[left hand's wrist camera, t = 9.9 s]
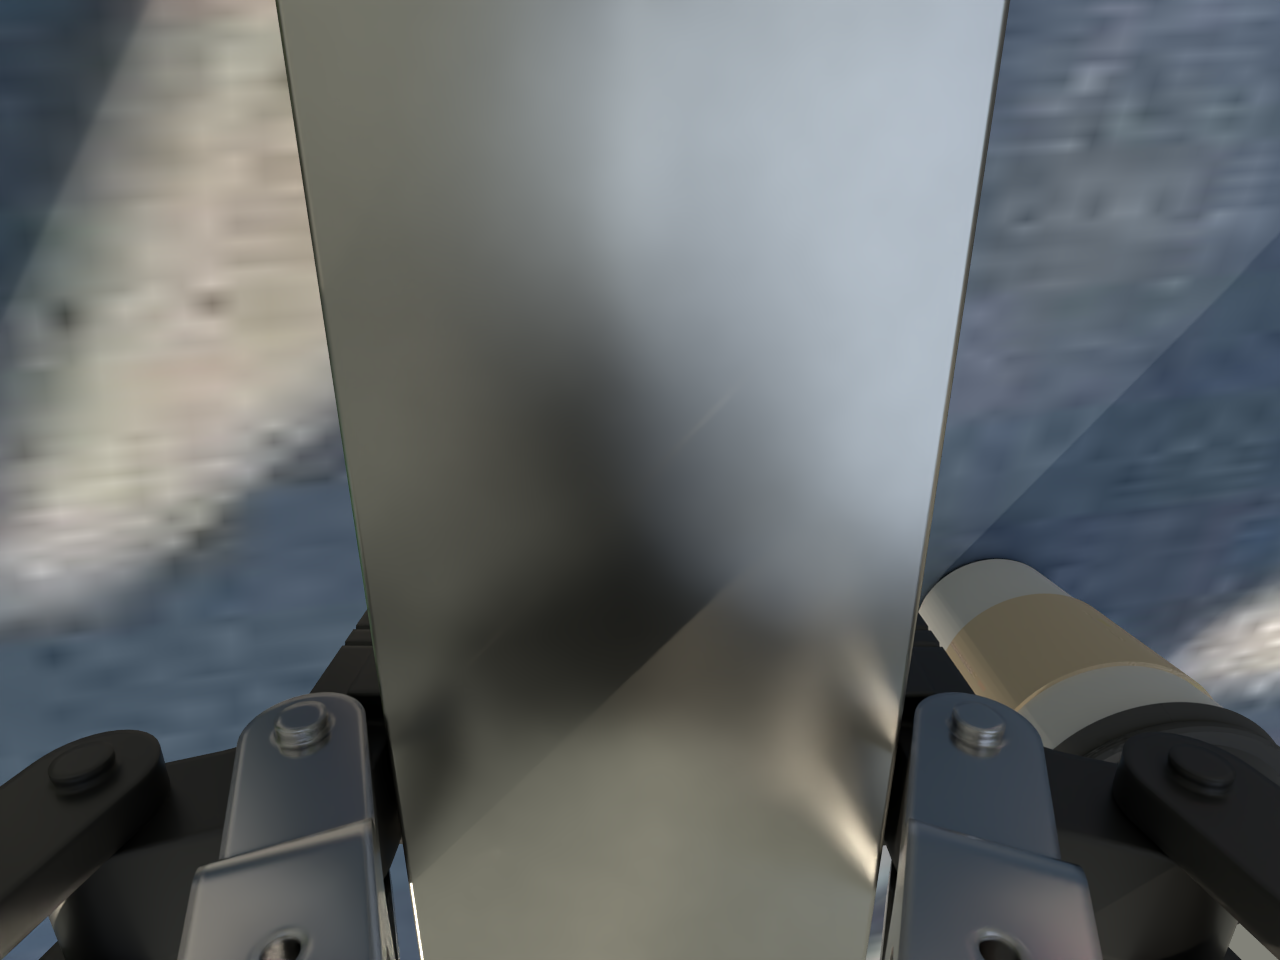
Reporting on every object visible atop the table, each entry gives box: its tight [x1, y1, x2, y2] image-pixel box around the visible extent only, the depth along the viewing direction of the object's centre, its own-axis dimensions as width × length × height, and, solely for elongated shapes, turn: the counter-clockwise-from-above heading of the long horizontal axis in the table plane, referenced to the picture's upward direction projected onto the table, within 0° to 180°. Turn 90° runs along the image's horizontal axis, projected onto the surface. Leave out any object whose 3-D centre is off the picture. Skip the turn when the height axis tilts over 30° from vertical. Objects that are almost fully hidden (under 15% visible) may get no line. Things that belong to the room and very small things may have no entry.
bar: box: [275, 0, 1010, 960], centre depth 9 cm, size 23×5×8 cm, turn 0°
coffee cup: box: [919, 559, 1280, 924], centre depth 29 cm, size 9×9×15 cm
